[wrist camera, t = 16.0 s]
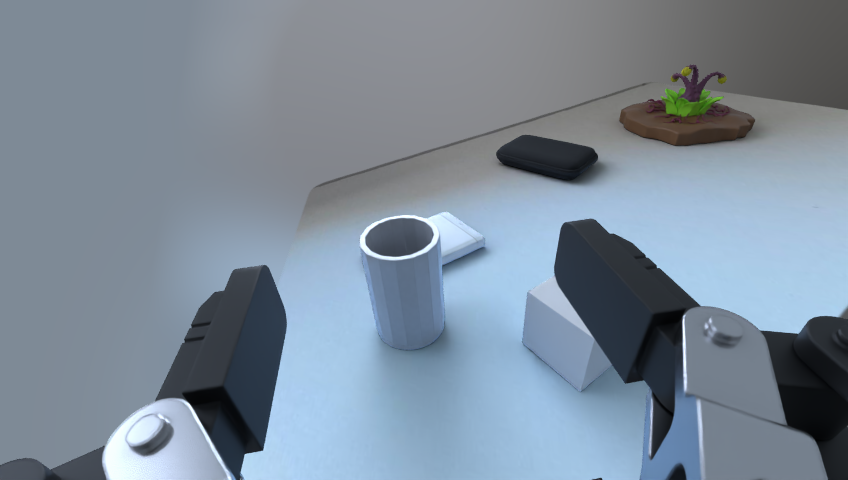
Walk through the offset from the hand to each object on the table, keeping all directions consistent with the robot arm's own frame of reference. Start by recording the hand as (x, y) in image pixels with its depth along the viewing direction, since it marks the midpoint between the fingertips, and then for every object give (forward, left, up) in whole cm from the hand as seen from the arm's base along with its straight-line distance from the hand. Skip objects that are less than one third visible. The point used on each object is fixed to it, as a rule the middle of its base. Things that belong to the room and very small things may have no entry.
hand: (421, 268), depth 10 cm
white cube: (+8, +15, -20) cm, 27 cm away
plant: (+32, +73, -20) cm, 82 cm away
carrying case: (+7, +54, -20) cm, 58 cm away
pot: (-6, +16, -20) cm, 26 cm away
